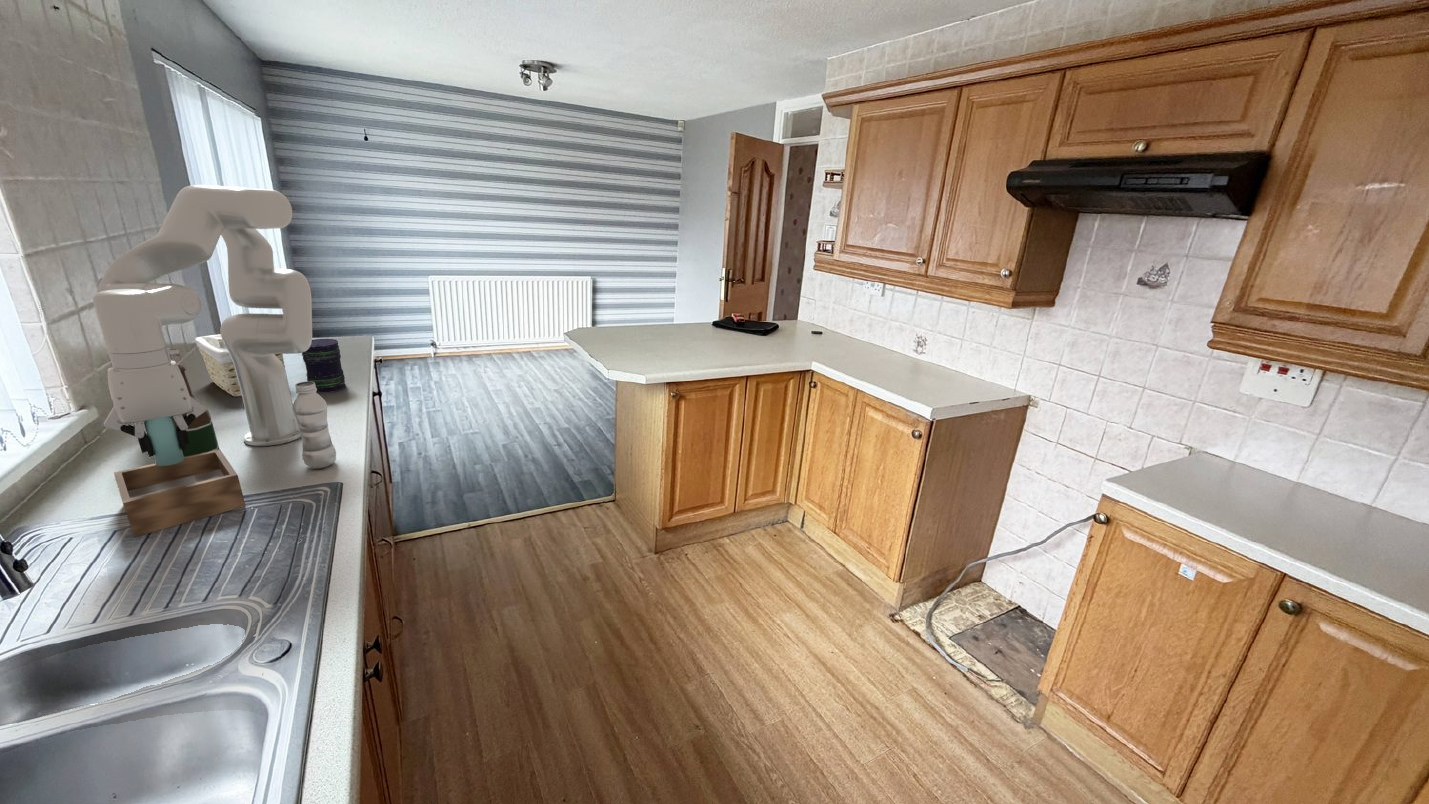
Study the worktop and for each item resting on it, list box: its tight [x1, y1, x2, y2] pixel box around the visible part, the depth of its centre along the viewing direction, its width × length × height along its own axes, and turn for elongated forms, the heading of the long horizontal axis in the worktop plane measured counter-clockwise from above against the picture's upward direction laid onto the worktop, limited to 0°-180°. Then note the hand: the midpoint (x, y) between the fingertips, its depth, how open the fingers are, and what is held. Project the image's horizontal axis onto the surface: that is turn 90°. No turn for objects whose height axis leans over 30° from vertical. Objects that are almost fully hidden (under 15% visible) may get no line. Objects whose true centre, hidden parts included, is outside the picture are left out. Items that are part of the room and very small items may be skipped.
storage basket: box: [195, 333, 286, 397], centre depth 176 cm, size 24×16×15 cm
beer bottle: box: [173, 364, 220, 457], centre depth 122 cm, size 8×8×24 cm
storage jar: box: [301, 338, 347, 394], centre depth 176 cm, size 10×10×15 cm
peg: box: [144, 417, 184, 466], centre depth 107 cm, size 4×4×10 cm
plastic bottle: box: [292, 380, 337, 470], centre depth 127 cm, size 6×7×20 cm
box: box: [113, 448, 246, 538], centre depth 111 cm, size 16×16×7 cm
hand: (167, 450), depth 108 cm, fingers closed on peg, 4 cm apart
